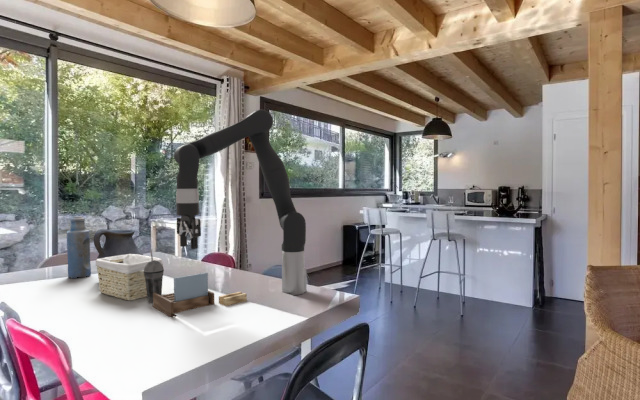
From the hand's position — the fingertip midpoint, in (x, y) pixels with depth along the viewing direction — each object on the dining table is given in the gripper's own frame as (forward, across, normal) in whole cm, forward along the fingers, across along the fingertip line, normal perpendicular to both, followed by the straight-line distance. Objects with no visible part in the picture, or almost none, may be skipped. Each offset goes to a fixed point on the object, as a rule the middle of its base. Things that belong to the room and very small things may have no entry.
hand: (188, 247), depth 133 cm
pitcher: (+22, +68, +4) cm, 71 cm away
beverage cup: (+22, +20, +5) cm, 30 cm away
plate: (+21, 0, -1) cm, 21 cm away
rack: (+22, +5, 0) cm, 22 cm away
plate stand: (+22, -6, -14) cm, 27 cm away
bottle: (+22, +91, +16) cm, 95 cm away
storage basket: (+22, +38, +8) cm, 45 cm away
